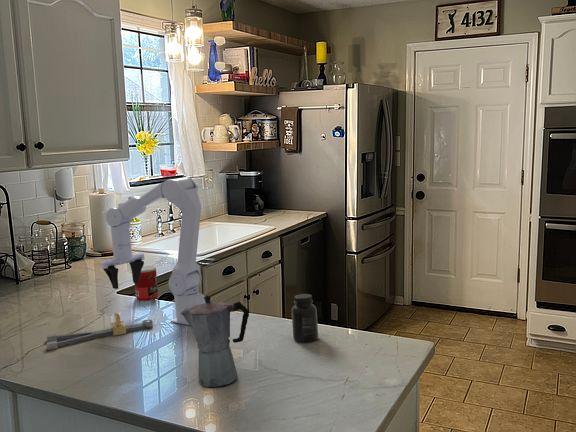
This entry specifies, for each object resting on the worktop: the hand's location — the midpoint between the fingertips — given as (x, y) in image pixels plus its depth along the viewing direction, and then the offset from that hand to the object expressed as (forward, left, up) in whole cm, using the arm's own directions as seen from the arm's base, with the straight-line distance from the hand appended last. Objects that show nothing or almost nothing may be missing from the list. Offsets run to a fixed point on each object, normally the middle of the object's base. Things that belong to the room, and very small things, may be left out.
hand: (126, 285), depth 185 cm
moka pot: (-60, +28, -10) cm, 67 cm away
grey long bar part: (-8, +18, -10) cm, 22 cm away
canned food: (+9, -17, -10) cm, 22 cm away
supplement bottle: (-65, -3, -10) cm, 66 cm away
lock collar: (-11, +14, -10) cm, 20 cm away
